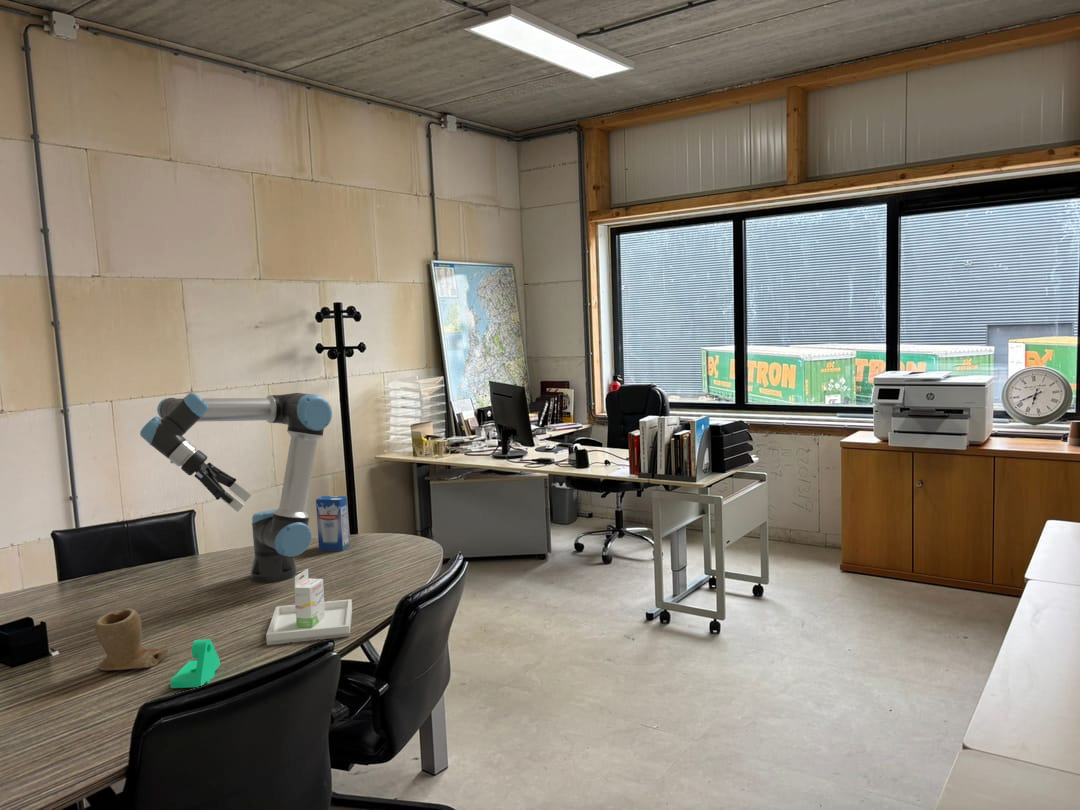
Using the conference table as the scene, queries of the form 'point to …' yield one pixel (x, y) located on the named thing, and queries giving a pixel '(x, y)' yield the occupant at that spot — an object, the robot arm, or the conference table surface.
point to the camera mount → (198, 666)
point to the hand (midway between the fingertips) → (244, 503)
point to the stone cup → (125, 642)
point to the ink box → (309, 600)
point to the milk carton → (332, 523)
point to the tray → (329, 627)
